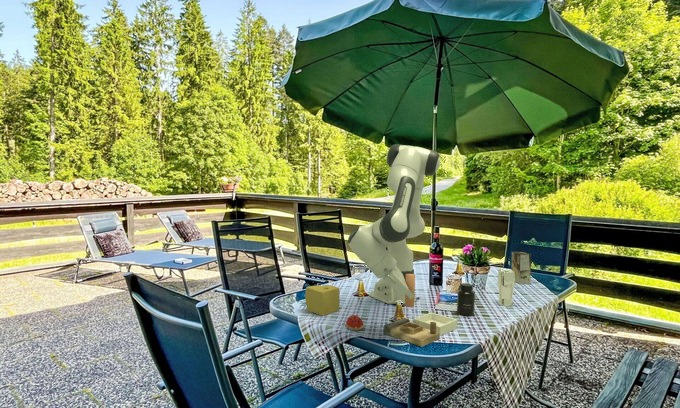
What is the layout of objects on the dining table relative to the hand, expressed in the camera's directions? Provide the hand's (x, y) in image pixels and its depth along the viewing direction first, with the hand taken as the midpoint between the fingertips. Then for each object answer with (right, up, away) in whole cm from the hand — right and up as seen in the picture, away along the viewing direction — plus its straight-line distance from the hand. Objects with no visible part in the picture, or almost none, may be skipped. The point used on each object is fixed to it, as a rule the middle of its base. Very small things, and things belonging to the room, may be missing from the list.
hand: (411, 295), depth 135 cm
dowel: (-1, -4, 0) cm, 4 cm away
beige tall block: (+49, -13, +37) cm, 63 cm away
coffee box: (+74, -11, +78) cm, 108 cm away
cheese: (-32, -13, +27) cm, 44 cm away
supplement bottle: (+27, -14, +24) cm, 39 cm away
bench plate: (0, -14, 0) cm, 14 cm away
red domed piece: (-19, -14, +9) cm, 26 cm away
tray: (+10, -14, +8) cm, 19 cm away
